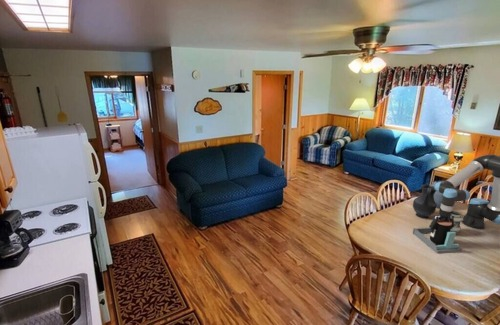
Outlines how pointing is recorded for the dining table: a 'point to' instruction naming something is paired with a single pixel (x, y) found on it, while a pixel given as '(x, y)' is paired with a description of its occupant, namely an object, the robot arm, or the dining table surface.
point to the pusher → (449, 242)
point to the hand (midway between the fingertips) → (439, 235)
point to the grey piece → (419, 233)
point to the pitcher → (425, 202)
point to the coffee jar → (441, 232)
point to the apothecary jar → (456, 221)
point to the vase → (437, 195)
